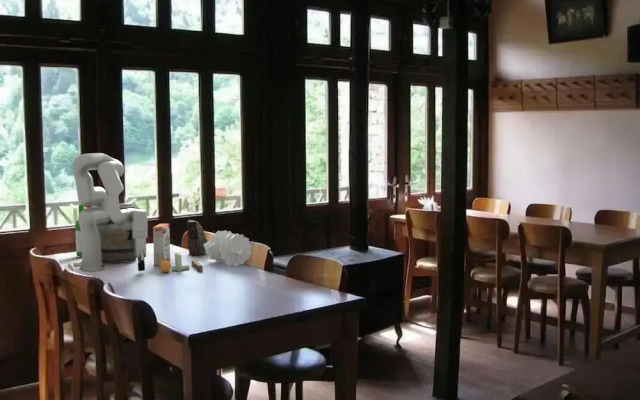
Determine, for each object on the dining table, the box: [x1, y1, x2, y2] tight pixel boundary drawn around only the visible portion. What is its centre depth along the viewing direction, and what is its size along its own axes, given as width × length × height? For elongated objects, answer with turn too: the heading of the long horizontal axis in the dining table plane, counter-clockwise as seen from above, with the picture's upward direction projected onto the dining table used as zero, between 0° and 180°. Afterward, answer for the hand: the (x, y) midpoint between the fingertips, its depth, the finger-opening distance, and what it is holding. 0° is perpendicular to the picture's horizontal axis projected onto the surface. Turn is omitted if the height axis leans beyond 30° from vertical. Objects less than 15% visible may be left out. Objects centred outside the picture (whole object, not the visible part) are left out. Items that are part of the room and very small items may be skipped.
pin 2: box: [176, 253, 183, 273], centre depth 350 cm, size 2×2×8 cm
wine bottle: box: [74, 203, 85, 258], centre depth 392 cm, size 8×8×30 cm
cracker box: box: [152, 223, 171, 267], centre depth 370 cm, size 14×6×21 cm, turn 179°
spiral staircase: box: [203, 230, 253, 267], centre depth 367 cm, size 18×18×25 cm
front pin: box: [171, 264, 190, 272], centre depth 353 cm, size 2×2×8 cm
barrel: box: [91, 204, 137, 264], centre depth 378 cm, size 22×22×30 cm
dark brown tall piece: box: [186, 219, 209, 258], centre depth 395 cm, size 13×13×20 cm
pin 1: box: [174, 252, 181, 266], centre depth 355 cm, size 2×2×8 cm
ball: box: [158, 261, 172, 273], centre depth 348 cm, size 6×6×6 cm
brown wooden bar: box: [190, 259, 204, 273], centre depth 356 cm, size 2×18×3 cm, turn 22°
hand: (141, 270), depth 346 cm, fingers closed
